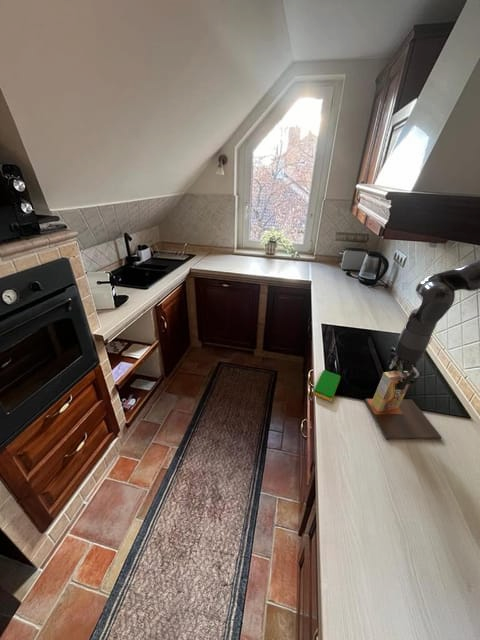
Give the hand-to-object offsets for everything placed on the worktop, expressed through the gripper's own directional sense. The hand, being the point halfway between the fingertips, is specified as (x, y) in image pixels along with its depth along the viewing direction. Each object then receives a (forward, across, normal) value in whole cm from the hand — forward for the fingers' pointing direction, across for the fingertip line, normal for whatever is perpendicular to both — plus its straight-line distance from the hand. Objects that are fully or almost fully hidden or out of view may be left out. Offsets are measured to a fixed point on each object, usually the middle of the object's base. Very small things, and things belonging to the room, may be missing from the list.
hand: (394, 383), depth 86 cm
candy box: (+12, 0, 0) cm, 12 cm away
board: (+13, -4, -3) cm, 14 cm away
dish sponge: (+13, +10, +18) cm, 24 cm away
